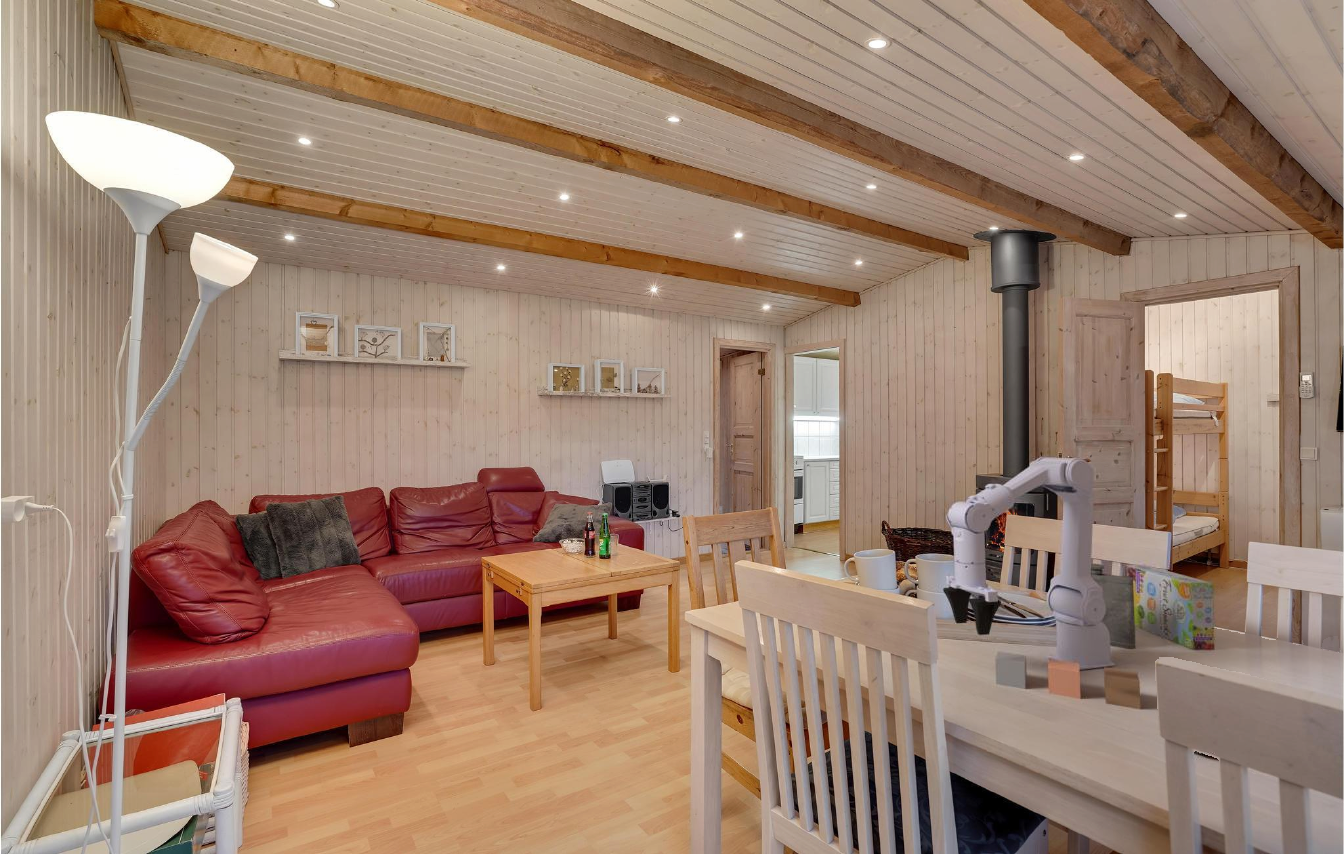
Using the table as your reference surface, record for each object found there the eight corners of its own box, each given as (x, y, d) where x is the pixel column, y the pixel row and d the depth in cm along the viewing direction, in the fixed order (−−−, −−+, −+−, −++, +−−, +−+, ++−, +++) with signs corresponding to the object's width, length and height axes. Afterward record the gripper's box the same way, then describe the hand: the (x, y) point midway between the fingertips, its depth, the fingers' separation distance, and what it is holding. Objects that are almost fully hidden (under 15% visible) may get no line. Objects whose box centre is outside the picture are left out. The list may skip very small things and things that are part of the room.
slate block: (998, 675, 126) (998, 651, 127) (1026, 680, 124) (1026, 655, 124) (996, 684, 122) (995, 658, 122) (1025, 689, 120) (1024, 663, 120)
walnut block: (1104, 693, 117) (1104, 667, 117) (1138, 699, 114) (1137, 672, 114) (1106, 703, 113) (1105, 676, 113) (1140, 709, 110) (1139, 681, 110)
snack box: (1217, 650, 138) (1215, 582, 138) (1192, 650, 138) (1190, 583, 138) (1146, 621, 159) (1144, 563, 159) (1124, 622, 159) (1122, 563, 160)
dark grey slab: (1131, 650, 139) (1128, 570, 139) (1061, 634, 150) (1059, 560, 151) (1137, 647, 141) (1134, 567, 141) (1067, 631, 152) (1065, 558, 153)
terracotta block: (1049, 684, 122) (1048, 658, 122) (1080, 689, 119) (1079, 663, 119) (1048, 693, 117) (1048, 667, 118) (1080, 699, 115) (1079, 672, 115)
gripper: (932, 555, 133) (934, 618, 133) (972, 569, 118) (974, 641, 118) (963, 553, 134) (965, 617, 133) (1006, 567, 119) (1009, 638, 119)
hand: (971, 628), depth 126 cm, fingers open, 7 cm apart
